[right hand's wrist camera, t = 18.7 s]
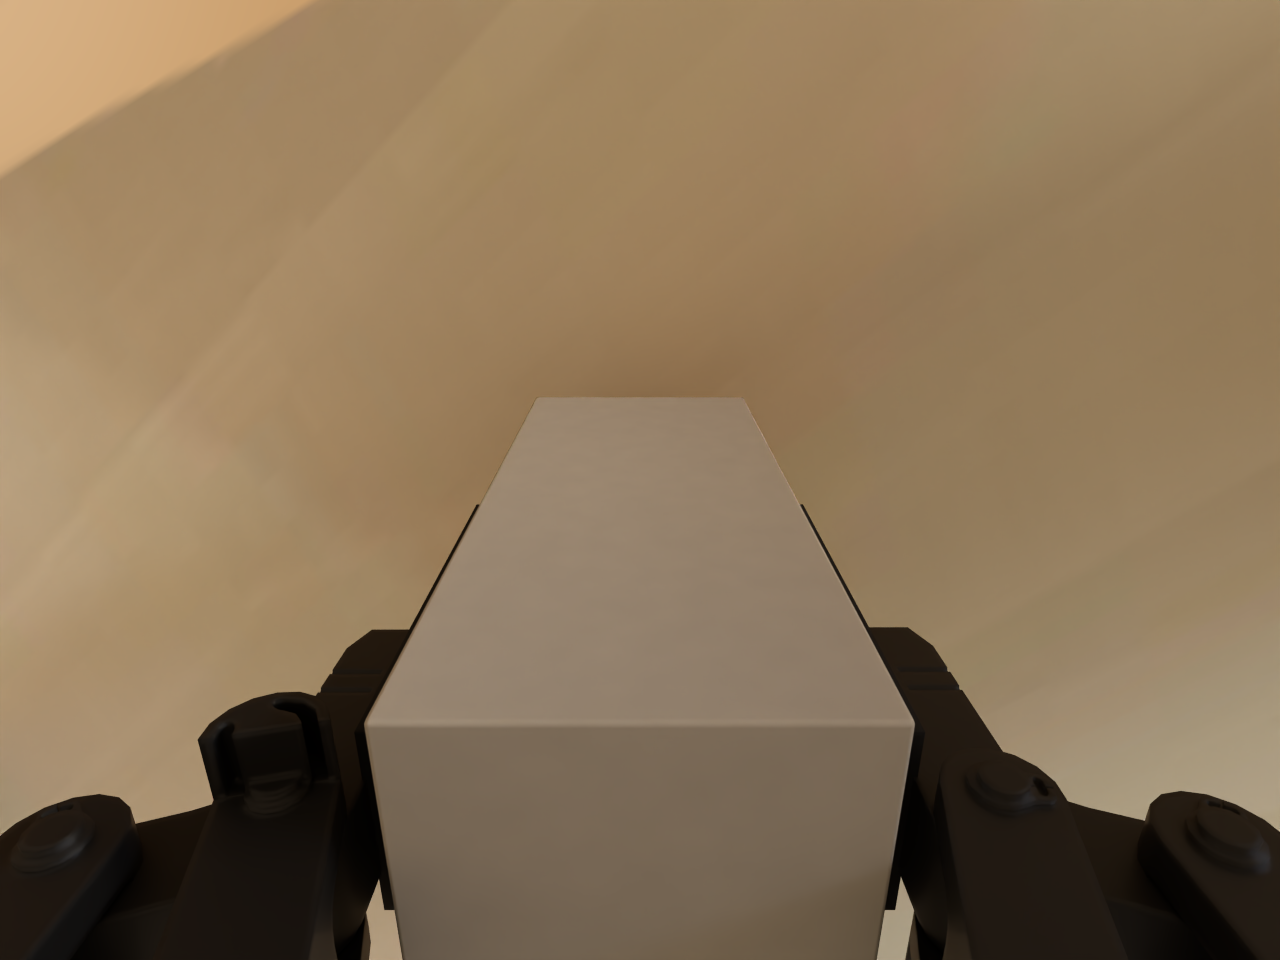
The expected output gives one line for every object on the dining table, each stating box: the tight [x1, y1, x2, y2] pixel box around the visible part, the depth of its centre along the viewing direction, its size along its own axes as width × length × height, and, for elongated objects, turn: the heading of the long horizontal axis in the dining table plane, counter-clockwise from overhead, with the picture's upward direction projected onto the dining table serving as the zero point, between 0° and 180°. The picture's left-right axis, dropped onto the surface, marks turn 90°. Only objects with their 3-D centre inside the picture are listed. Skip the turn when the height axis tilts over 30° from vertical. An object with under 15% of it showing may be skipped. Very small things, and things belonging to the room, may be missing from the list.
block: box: [364, 397, 915, 960], centre depth 13 cm, size 5×5×11 cm
